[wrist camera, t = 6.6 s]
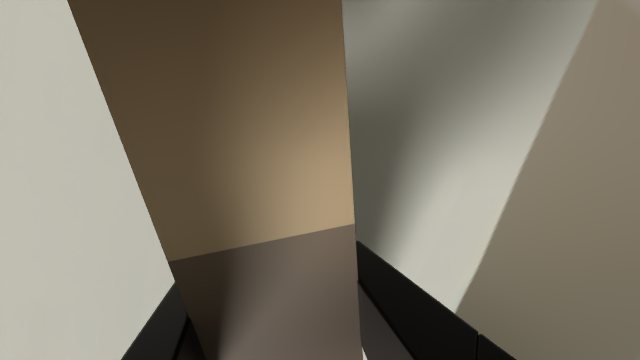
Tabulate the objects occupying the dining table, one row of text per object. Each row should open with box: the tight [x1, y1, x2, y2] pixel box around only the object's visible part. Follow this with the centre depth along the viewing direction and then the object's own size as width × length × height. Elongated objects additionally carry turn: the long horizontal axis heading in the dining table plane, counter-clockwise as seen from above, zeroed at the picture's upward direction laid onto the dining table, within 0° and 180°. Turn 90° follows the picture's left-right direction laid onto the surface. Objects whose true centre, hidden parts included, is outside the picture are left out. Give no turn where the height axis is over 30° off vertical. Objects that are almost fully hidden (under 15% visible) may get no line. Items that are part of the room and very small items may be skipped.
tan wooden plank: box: [67, 0, 363, 360], centre depth 7 cm, size 14×3×3 cm, turn 5°
